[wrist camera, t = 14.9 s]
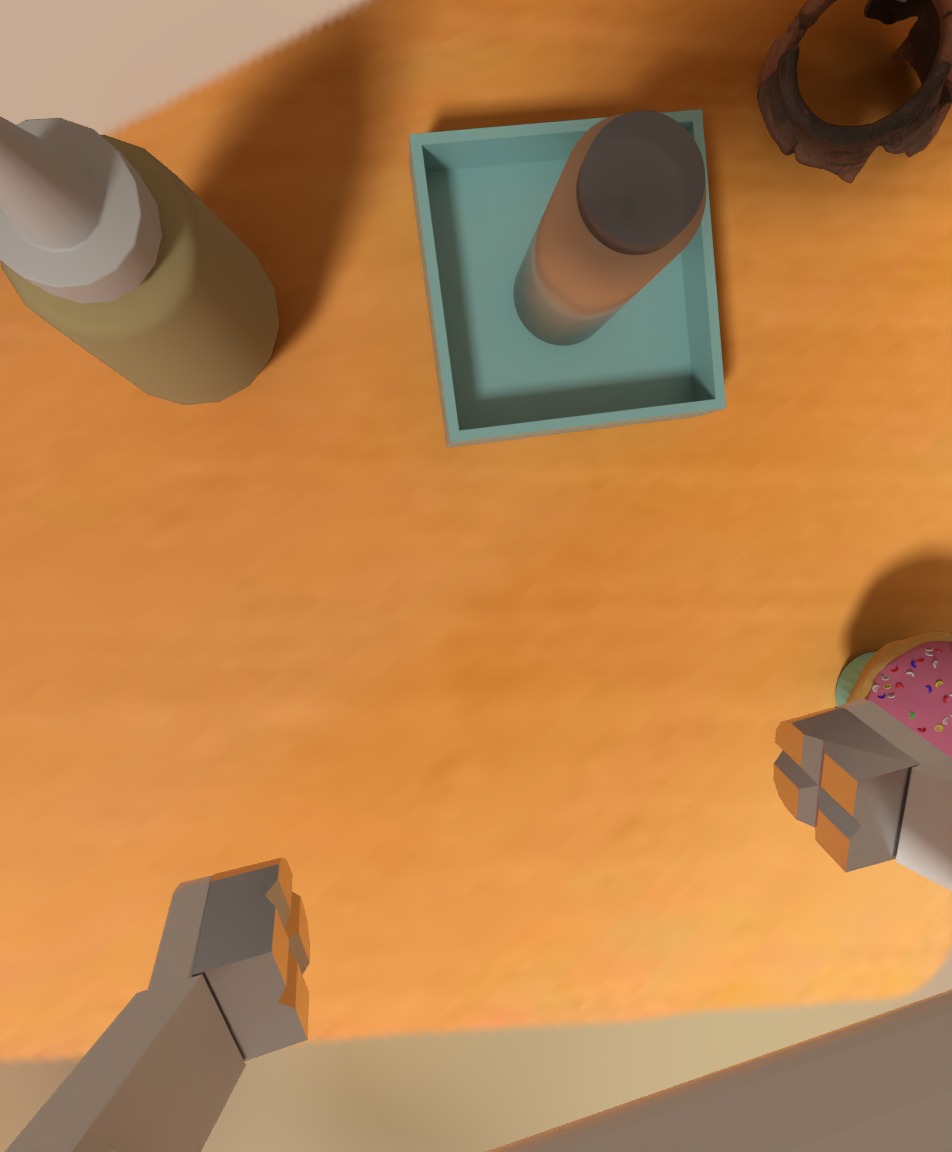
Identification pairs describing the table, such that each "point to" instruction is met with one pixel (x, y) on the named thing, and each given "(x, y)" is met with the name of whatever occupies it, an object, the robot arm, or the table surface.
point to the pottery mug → (948, 76)
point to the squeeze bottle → (131, 263)
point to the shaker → (610, 224)
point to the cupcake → (907, 684)
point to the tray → (489, 318)
